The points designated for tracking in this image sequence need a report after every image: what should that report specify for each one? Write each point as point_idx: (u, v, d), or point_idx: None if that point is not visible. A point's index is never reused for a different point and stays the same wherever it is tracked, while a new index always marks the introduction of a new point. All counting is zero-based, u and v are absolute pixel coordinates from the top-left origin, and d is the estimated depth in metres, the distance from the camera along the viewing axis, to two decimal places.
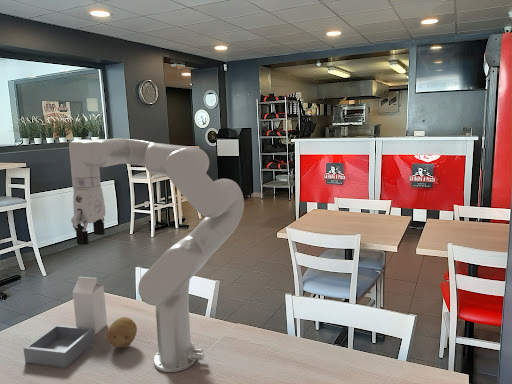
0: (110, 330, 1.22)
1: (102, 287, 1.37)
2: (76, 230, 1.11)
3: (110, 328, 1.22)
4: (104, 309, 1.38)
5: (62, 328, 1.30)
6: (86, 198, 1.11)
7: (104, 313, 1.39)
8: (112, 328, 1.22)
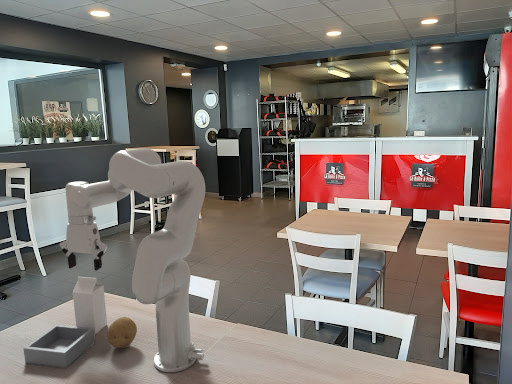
0: (110, 330, 1.22)
1: (102, 287, 1.37)
2: (99, 257, 1.31)
3: (110, 328, 1.22)
4: (104, 309, 1.38)
5: (62, 328, 1.30)
6: (97, 229, 1.32)
7: (104, 313, 1.39)
8: (112, 328, 1.22)
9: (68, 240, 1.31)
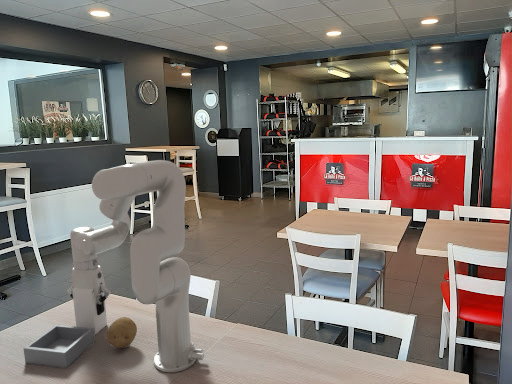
0: (110, 330, 1.22)
1: None
2: (101, 302, 1.34)
3: (110, 328, 1.22)
4: (104, 309, 1.38)
5: (62, 328, 1.30)
6: None
7: (104, 313, 1.39)
8: (112, 328, 1.22)
9: (73, 285, 1.33)
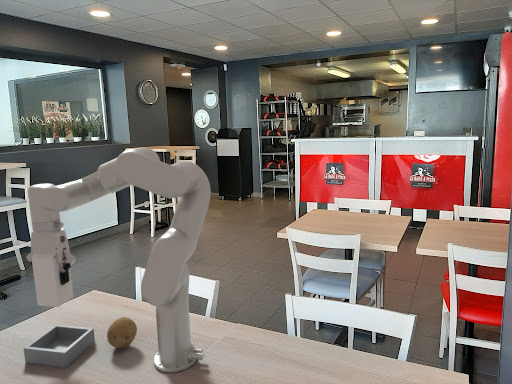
0: (110, 330, 1.22)
1: None
2: (65, 270, 1.17)
3: (110, 328, 1.22)
4: (69, 279, 1.22)
5: (62, 328, 1.30)
6: (66, 236, 1.18)
7: (70, 284, 1.22)
8: (112, 328, 1.22)
9: (33, 250, 1.17)
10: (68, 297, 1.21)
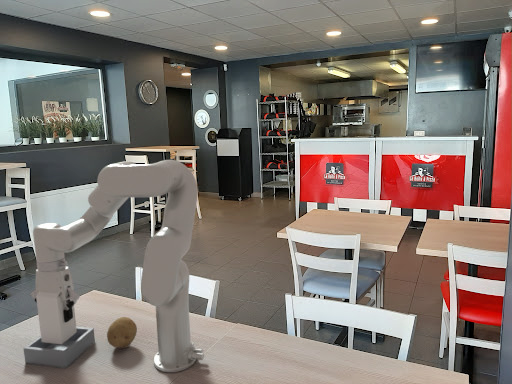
0: (110, 330, 1.22)
1: None
2: (69, 308, 1.19)
3: (110, 328, 1.22)
4: (73, 316, 1.24)
5: None
6: (70, 274, 1.21)
7: (74, 320, 1.24)
8: (112, 328, 1.22)
9: (37, 288, 1.19)
10: (71, 333, 1.23)
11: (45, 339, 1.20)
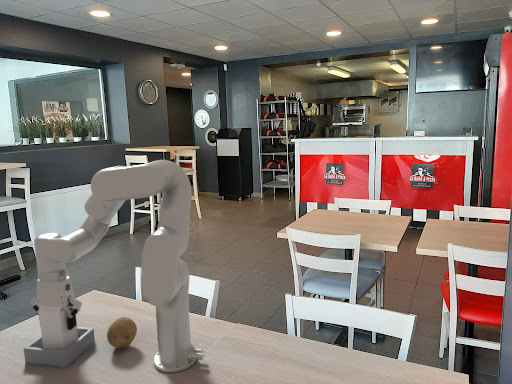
0: (110, 330, 1.22)
1: None
2: (73, 316, 1.20)
3: (110, 328, 1.22)
4: (75, 329, 1.24)
5: None
6: (71, 284, 1.21)
7: (76, 334, 1.25)
8: (112, 328, 1.22)
9: (39, 298, 1.19)
10: None
11: None
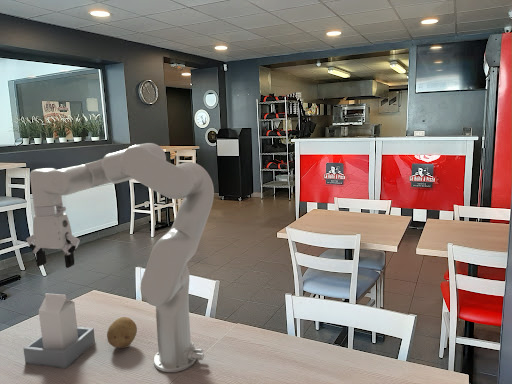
0: (110, 330, 1.22)
1: (73, 304, 1.23)
2: (70, 253, 1.17)
3: (110, 328, 1.22)
4: (75, 329, 1.24)
5: None
6: (68, 221, 1.18)
7: (76, 334, 1.25)
8: (112, 328, 1.22)
9: (35, 235, 1.16)
10: None
11: None
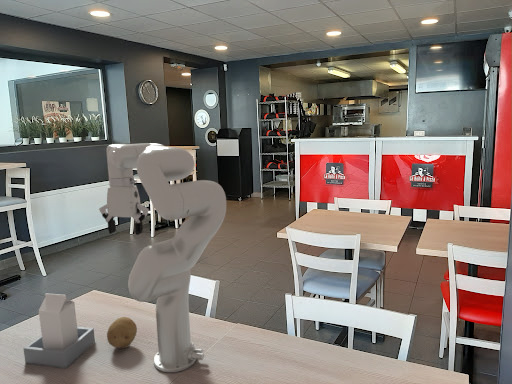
0: (110, 330, 1.22)
1: (73, 304, 1.23)
2: (140, 221, 1.29)
3: (110, 328, 1.22)
4: (75, 329, 1.24)
5: None
6: None
7: (76, 334, 1.25)
8: (112, 328, 1.22)
9: (109, 204, 1.28)
10: None
11: None
